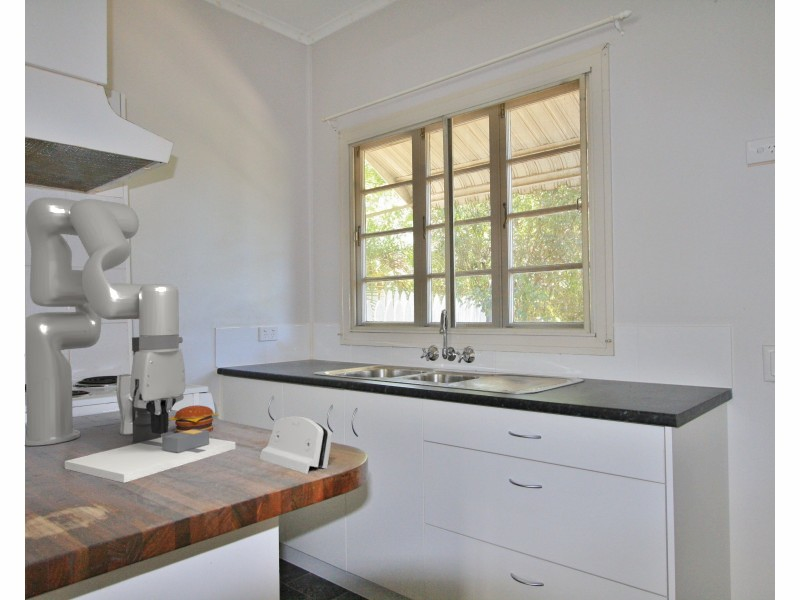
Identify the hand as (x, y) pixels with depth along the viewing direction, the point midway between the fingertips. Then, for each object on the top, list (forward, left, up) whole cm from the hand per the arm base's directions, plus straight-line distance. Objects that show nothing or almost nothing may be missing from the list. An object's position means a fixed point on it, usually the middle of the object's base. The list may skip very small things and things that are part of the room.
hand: (159, 432), depth 111 cm
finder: (+1, +6, -4) cm, 7 cm away
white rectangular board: (-3, +1, -6) cm, 7 cm away
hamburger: (-17, +22, -6) cm, 29 cm away
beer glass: (-31, +14, -6) cm, 35 cm away
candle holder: (-19, +10, -6) cm, 23 cm away
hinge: (+26, +12, -6) cm, 30 cm away
